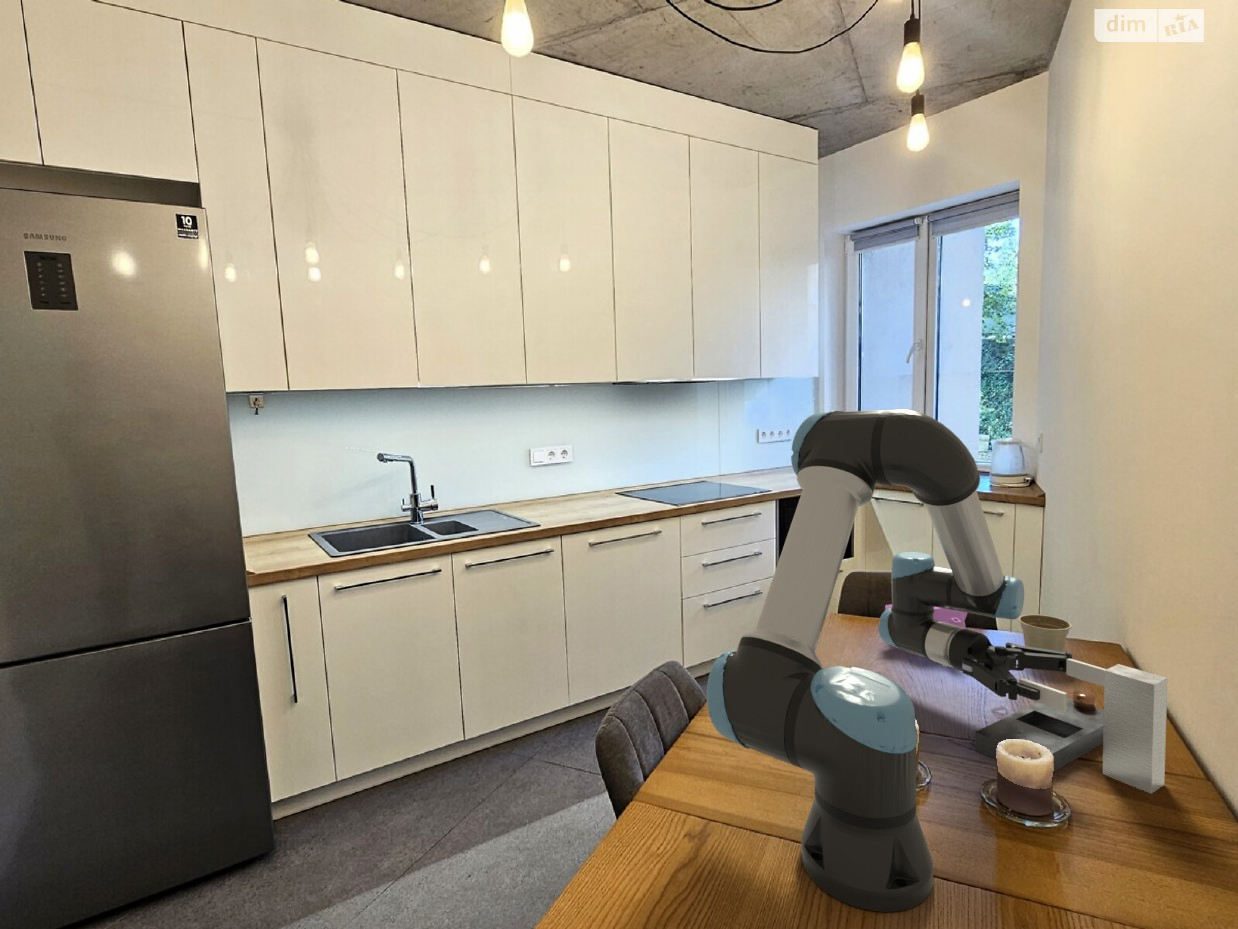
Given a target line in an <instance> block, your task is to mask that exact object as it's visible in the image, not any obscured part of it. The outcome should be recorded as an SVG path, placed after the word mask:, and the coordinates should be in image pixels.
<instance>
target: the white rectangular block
mask: <svg viewBox="0 0 1238 929" xmlns="http://www.w3.org/2000/svg"><path fill="white" fill-rule="evenodd" d="M1103 689H1104V690H1103V691H1104V692H1103V693H1104V694H1103V710H1104V731H1103V744H1102V774H1103V775H1104V776H1106V777H1109V778H1110V779H1113V780H1116V781H1118V782H1121V783H1123V784H1126V785H1129V786H1131V787H1133V788H1135V787H1136V789H1138V790H1140V791H1142V790H1144V791H1143V792H1145V791H1146V792H1145V793H1147V792H1148V793H1147V794H1150V795H1152V794H1154V793H1155V792H1156V791H1159V790H1160V787H1161V788H1163V786H1165V775H1166V774H1165V771H1166V768H1165V767H1166V745H1167V744H1166V741H1167V740H1166V738H1167V705H1168V704H1167V703H1168V677H1167V676H1162V675H1158V674H1155V673H1152V672H1149V671H1144V670H1141V669H1138V668H1133V667H1130V666H1127V665H1123V664H1120V663H1117V664H1115V665H1114V666H1111V667H1108V668H1107V670H1105V683H1104V688H1103ZM1153 792H1154V793H1153Z"/></svg>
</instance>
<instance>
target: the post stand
mask: <svg viewBox="0 0 1238 929" xmlns="http://www.w3.org/2000/svg"><path fill="white" fill-rule="evenodd" d="M1096 703H1097V696H1096V695H1095V694H1094V693H1092V692H1089V691H1084V690H1074V691H1072V698H1069V697H1067V711H1065V712H1063V711H1060V710H1057V709H1055V708H1052V707H1049V706H1046V705H1044V704H1041V703H1038V702H1035V703H1034V704H1032V705H1029V706H1027V707H1025V708H1024V709H1020V710H1018V711H1016V712H1015V713H1012V714H1010V715H1008V716H1006V717H1004V718H1002V719H1000V720H997V721H995V722H993V723H991V724H988V725H987V726H985V727H982V728H980V729H978V730H976V731H974V750H975V751H976V752H980V754H981V753H982V754H983V755H985V756H988V757H990V758H992V757H993V758H992V759H995V760H996V748H997V745H998V743H999V742H1001V741H1003V740H1006V739H1025V740H1030V741H1032V742H1034V743H1039V744H1040V745H1042V746H1045V747H1047V749H1050V752H1051V753H1052V754H1053V756H1054V772H1056V771H1058V770H1060V769H1061V768H1063V767H1064V766H1066V765H1068V764H1070V763H1072V762H1073V761H1075V760H1077V759H1079V758H1080V757H1082V756H1084V755H1085V754H1087V753H1089V752H1091V751H1092V750H1094V749H1096V748H1097V747H1100V746H1101V745H1103V731H1104V709H1101V708H1098V707H1097V704H1096Z"/></svg>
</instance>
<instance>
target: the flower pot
mask: <svg viewBox="0 0 1238 929" xmlns="http://www.w3.org/2000/svg"><path fill="white" fill-rule="evenodd" d="M1017 619H1018V622H1019V623H1020V627H1021V629H1022V635H1023V641H1024V646H1028V647H1035V648H1042V649H1049V650H1055V651H1062V652H1065V651H1064V650H1065V646H1066V640H1067V636H1068V634H1069V632H1070V630H1071V629H1072V626H1073V624H1072V623H1070V622H1069V621H1068V620H1065V619H1063V618H1059V617H1056V616H1052V615H1051V616H1050V615H1044V614H1023V615H1020V616H1019V617H1018V618H1017Z"/></svg>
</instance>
